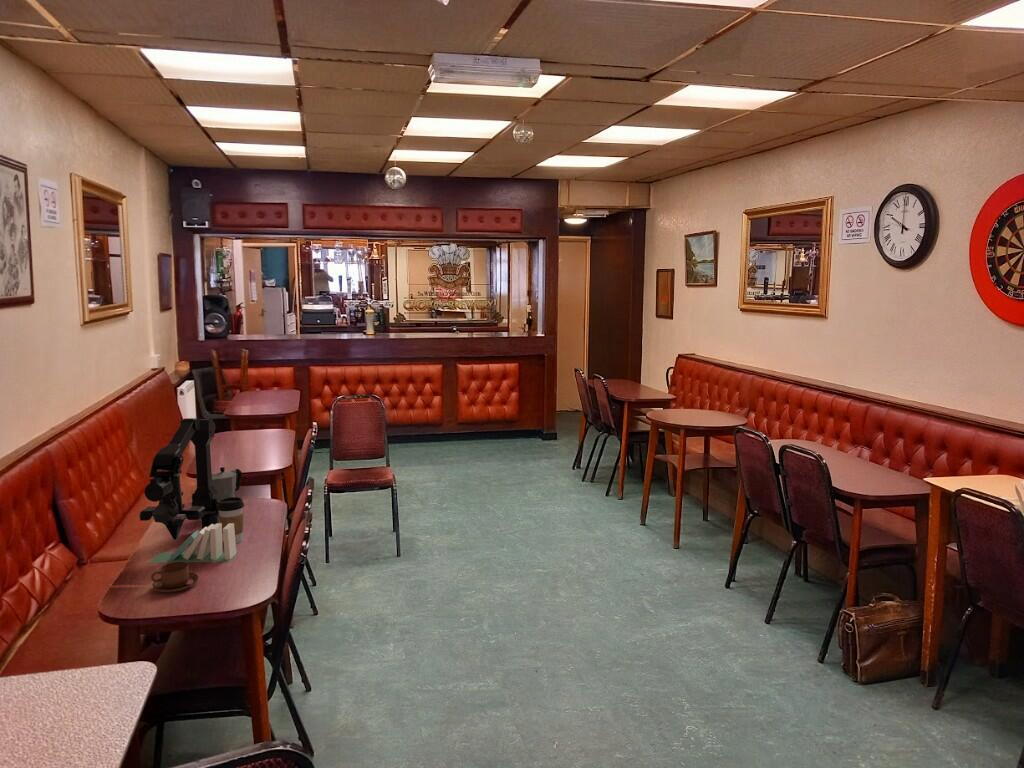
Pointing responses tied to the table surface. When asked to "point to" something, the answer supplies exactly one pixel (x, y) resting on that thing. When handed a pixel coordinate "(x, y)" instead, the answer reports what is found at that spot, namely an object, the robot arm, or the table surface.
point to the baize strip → (166, 558)
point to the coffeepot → (226, 483)
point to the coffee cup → (232, 515)
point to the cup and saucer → (173, 577)
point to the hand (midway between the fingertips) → (175, 539)
